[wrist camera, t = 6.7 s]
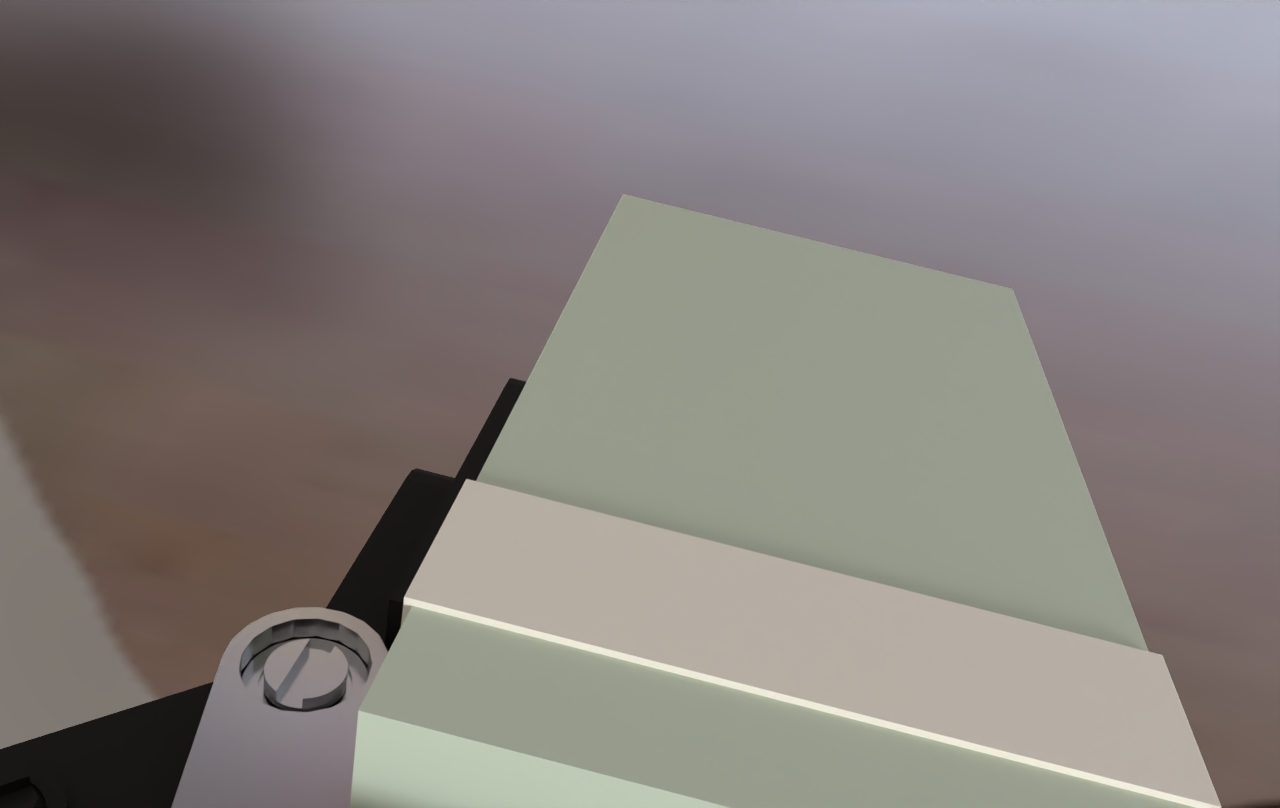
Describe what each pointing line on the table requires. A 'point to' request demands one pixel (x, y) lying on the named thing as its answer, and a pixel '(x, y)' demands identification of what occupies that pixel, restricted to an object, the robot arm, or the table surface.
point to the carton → (774, 559)
